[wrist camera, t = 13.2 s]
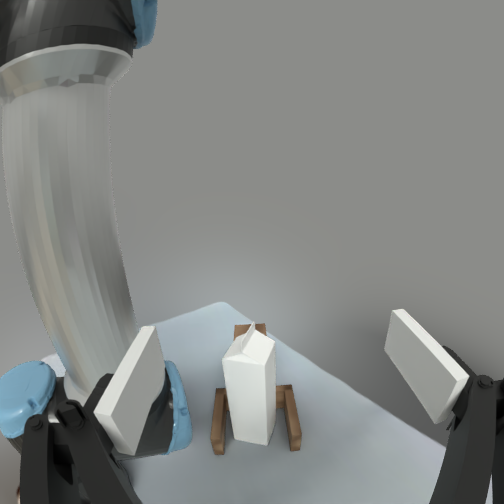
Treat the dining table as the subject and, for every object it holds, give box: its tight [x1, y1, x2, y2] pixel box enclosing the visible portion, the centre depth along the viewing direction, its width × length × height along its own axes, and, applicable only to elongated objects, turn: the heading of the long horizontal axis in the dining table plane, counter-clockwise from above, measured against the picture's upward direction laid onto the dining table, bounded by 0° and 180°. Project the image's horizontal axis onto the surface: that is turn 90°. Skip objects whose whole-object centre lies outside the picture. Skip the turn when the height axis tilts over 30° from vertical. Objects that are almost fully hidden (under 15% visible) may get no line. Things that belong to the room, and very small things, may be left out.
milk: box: [222, 322, 276, 446], centre depth 39 cm, size 6×6×22 cm
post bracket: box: [210, 324, 302, 455], centre depth 42 cm, size 14×16×17 cm
